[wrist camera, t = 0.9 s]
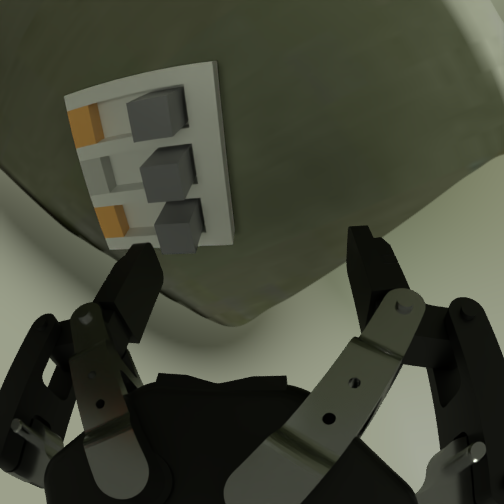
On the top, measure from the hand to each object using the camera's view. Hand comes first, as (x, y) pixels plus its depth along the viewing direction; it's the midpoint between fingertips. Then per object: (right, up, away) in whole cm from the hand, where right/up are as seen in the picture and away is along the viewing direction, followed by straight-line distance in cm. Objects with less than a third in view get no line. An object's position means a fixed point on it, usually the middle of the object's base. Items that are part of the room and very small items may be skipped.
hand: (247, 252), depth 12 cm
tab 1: (-8, +14, +15) cm, 22 cm away
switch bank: (-11, +10, +19) cm, 24 cm away
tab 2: (-8, +10, +18) cm, 22 cm away
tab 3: (-7, +5, +22) cm, 24 cm away
